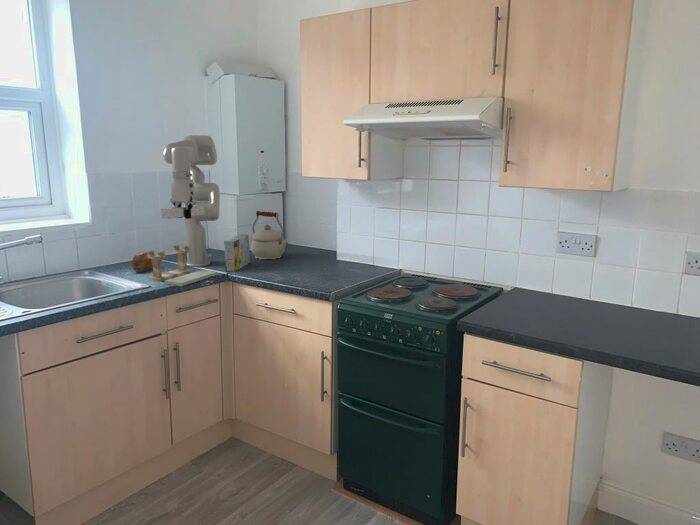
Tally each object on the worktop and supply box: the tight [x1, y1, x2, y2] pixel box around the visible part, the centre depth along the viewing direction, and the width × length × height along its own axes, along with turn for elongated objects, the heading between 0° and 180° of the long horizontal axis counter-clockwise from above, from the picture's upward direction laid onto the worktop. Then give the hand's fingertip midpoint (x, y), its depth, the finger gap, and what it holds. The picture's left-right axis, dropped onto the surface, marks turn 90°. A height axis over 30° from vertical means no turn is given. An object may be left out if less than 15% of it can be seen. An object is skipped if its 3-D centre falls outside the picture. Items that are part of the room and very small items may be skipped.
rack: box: [146, 244, 192, 283], centre depth 247 cm, size 20×7×13 cm, turn 156°
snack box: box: [223, 233, 251, 272], centre depth 269 cm, size 21×6×15 cm, turn 171°
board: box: [164, 269, 218, 287], centre depth 243 cm, size 24×9×2 cm, turn 156°
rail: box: [160, 205, 204, 220], centre depth 238 cm, size 22×4×4 cm, turn 154°
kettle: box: [250, 210, 289, 260], centre depth 292 cm, size 25×18×25 cm
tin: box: [131, 251, 153, 273], centre depth 260 cm, size 15×3×8 cm, turn 168°
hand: (184, 217), depth 239 cm, fingers closed on rail, 4 cm apart
